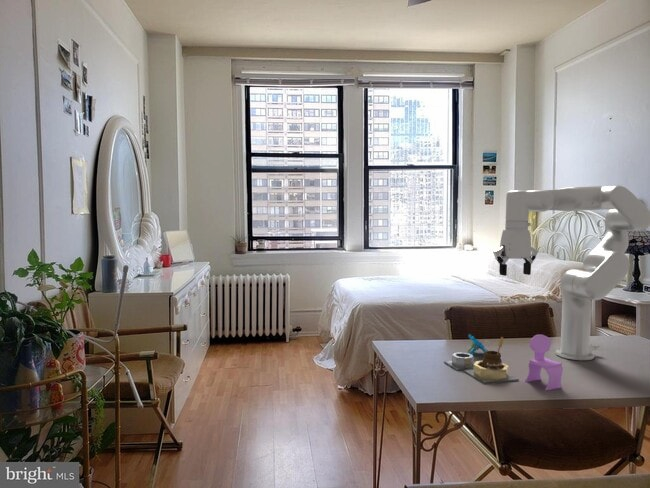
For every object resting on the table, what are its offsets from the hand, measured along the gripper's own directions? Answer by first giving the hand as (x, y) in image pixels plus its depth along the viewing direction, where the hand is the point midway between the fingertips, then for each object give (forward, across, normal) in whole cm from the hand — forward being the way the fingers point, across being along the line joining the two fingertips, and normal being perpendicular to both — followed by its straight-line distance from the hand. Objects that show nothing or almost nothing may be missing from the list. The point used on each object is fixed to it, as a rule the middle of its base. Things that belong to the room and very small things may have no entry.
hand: (515, 274), depth 182 cm
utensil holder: (+30, +18, +14) cm, 37 cm away
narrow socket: (+30, +21, +2) cm, 37 cm away
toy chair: (+31, +7, +25) cm, 40 cm away
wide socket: (+30, +18, +14) cm, 38 cm away
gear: (+31, +8, -8) cm, 33 cm away
